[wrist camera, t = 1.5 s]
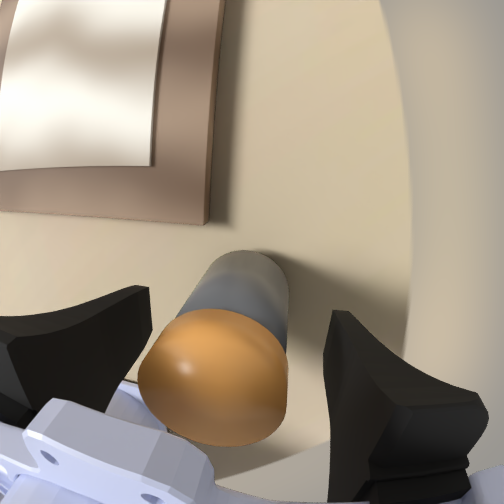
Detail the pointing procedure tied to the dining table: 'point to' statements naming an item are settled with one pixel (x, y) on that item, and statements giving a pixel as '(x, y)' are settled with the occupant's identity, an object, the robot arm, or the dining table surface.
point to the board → (109, 107)
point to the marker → (223, 356)
